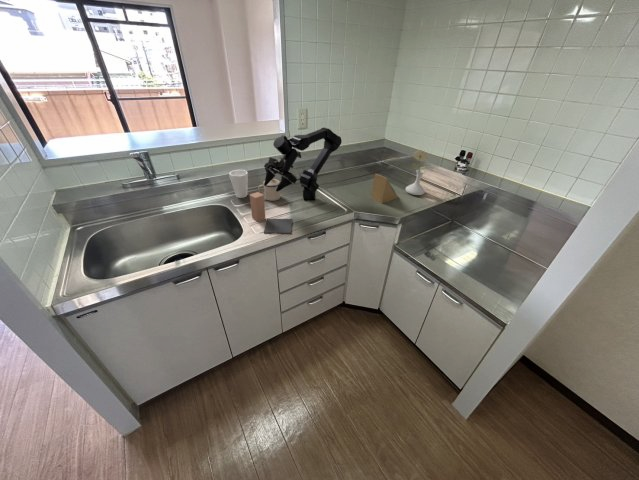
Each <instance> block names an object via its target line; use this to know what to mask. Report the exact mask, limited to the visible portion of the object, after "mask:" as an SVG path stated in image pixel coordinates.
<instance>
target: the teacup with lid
mask: <svg viewBox="0 0 639 480" xmlns="http://www.w3.org/2000/svg"><path fill="white" fill-rule="evenodd" d="M264 182H265V180H264V181H263V182H262V184H259V186H257V187H258V192H259V193H261V194H262V195H264V200H267V201H270V202H274V201H275V202H276V201H278V200H280V198H281V190H280V191H278V192H277V191H276V189H277V187H278V185H279V183H280V182H281V180H279V179H276V178H273V179H272V180H271V181H270V182H269V183H268V184H267V185H264ZM261 187H263V190H261Z"/></svg>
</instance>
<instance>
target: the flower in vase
mask: <svg viewBox="0 0 639 480" xmlns="http://www.w3.org/2000/svg"><path fill="white" fill-rule="evenodd" d="M413 157H414V159H415V160H417V163H412V164H411V166H412V167H414V168H417V169H416V170H415V171H416V179H415V182H413V183H411V184H409V185H407V186H406V187H405V191H406V193H408V194H410V195H413V196H422V195H424V194H425V193H426V191H425V189H424V187H423V186H422V185H421V183H420V181H421V178H422V176H423V175H424V174H425V172H426V171H425V170H423V169H425V168H427V166H426V165H425V166H421V167H419V162H426V161H427V160H428V158H429V156H428V154H427V152H425V151H424V150H422V149H421V150H420V149H419V150H416V151H415V152H414V153H413Z"/></svg>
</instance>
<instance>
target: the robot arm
mask: <svg viewBox="0 0 639 480" xmlns="http://www.w3.org/2000/svg"><path fill="white" fill-rule="evenodd" d="M321 140H324V141H323V148H322V149H321V151H320V153H319V154H318V155H317V157H316V159H315V161H313V163H312V165H311V166H310V167H309V169H307V170H306V169H304V170H303V171H302V173H301V175H300V177H299V184H300V186H301V188H303V189H302V198H303V200H304V201H305V202H306V201H311V202H314V201H316V192H317V191H318V190H319V188H320V185H319V184H318V183H317V181H318V174H319V173H320V171H321V170H322V168H323V166H324V165H325V163H326V162H327V160H328V159H329V157H330V156H331V154H332V153H333V152H335V151H337V150H338V149H339V147H340V146H341V145H342V140H343V139H342V138H341V136H340V135H338V134H336V133H335V132H333V131H332V129H331V128H328V127H321V128H320V129H317V130H315V131H312V132H310V133H306V134H296V135H293V136H292V137H291V138H289V139H288V137H287V136H286V135H285V134H281V135H280V136H279V137H277V138H276V139H275V140H274V141H273V144H272V145H273V147H274V148H275V149H276V150H277V151H278V152H279V153H280V154H281V155H283V156H282V157H279V158H278V159H277V158H275V157H271V156H270V157H269V158H268V162H265V164H264V165H263V168H264V170H265V178H264V181H265V182H264V181H263V182H264V185H267V184H268V183H269V182H270V181H271V180H272V179H275V177H276V175H277V174H278V175H280V176H281V178H280V179H281V180H280V183H279V185H278V187H277V189H276V191H277V192H278V191H280V192H281V191H282V190H283V189H284V188H287V187H288V186H290V185H293V184H296V183H297V181H298V179H297V178H298V177H296V176H295V175H294V174H293V173H292V172H290V171H291V170H290V169H293V168H294V166H293V165H294V163H295V161H296V160H297V159H298V158H300V159H302V154H301V153H302V152H301V151H305V150H306V149H308V148H309V147H310V145H311V144H313V143H314V144H315V143H316V142H318V141H321Z"/></svg>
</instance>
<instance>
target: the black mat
mask: <svg viewBox="0 0 639 480" xmlns="http://www.w3.org/2000/svg"><path fill="white" fill-rule="evenodd" d="M265 220H266V221H265V225H264V231H263V234H271V233H281V235H282V234H285V235H287V234H288V235H289V234H290V235H291V234H292V224H293V222H292V221H293V219H292V218H266V219H265Z"/></svg>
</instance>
